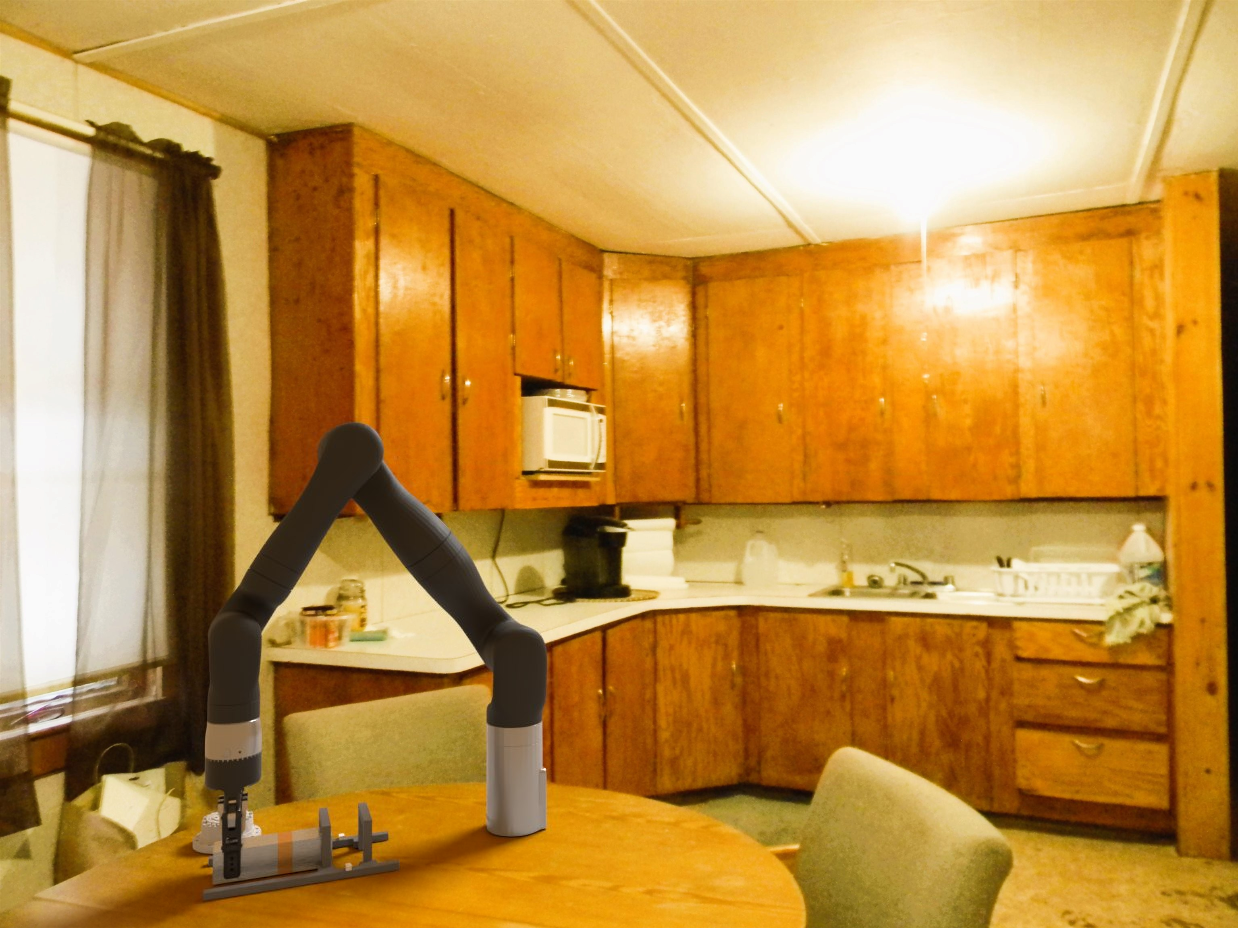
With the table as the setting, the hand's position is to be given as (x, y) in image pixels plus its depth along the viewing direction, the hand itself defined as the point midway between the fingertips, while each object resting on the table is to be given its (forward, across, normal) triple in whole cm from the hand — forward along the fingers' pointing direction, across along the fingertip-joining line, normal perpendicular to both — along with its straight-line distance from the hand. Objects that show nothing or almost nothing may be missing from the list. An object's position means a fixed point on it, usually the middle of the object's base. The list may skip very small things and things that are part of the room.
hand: (232, 870), depth 126 cm
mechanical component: (+1, +15, +1) cm, 15 cm away
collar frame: (+1, 0, -10) cm, 10 cm away
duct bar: (+1, 0, -6) cm, 6 cm away
